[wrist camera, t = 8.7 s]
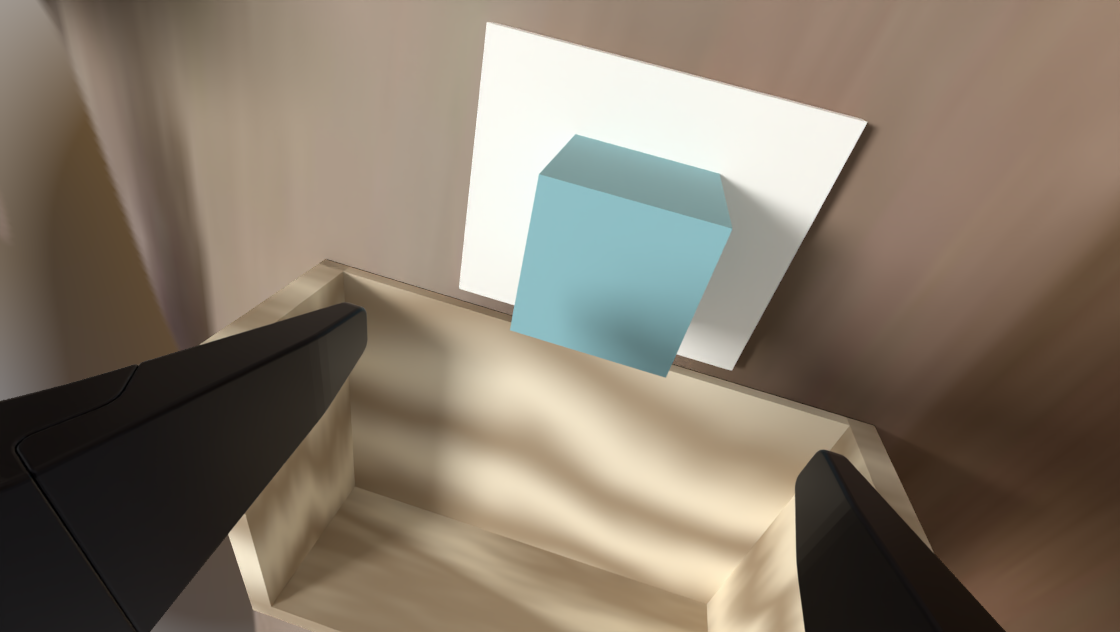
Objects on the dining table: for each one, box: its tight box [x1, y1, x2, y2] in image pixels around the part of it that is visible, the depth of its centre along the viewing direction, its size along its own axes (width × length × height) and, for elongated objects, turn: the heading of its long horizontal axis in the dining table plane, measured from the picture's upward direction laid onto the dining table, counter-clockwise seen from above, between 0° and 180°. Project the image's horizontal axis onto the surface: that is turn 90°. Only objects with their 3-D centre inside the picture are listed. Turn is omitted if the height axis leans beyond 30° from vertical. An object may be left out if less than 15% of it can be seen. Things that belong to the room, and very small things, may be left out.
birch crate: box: [200, 259, 934, 632], centre depth 23 cm, size 17×25×8 cm
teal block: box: [510, 134, 733, 378], centre depth 15 cm, size 5×5×5 cm
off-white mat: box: [459, 22, 867, 371], centre depth 18 cm, size 10×12×1 cm
